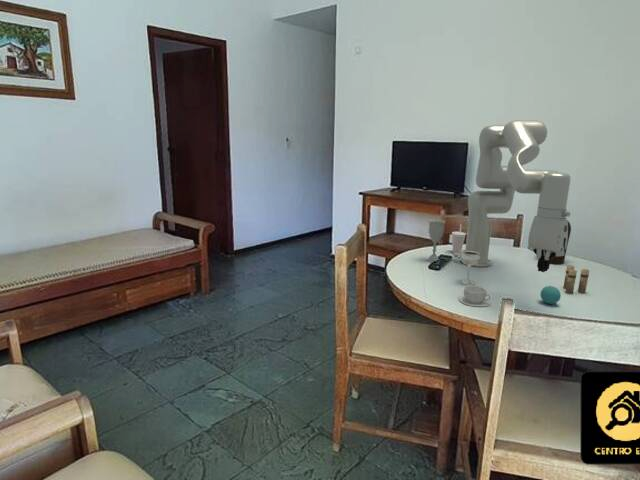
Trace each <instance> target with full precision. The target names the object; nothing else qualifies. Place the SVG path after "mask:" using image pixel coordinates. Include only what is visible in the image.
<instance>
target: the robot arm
mask: <svg viewBox="0 0 640 480" xmlns="http://www.w3.org/2000/svg"><path fill="white" fill-rule="evenodd" d="M547 137H548V128H547V126H546V124H545V123H544V122H542V121H540V120H524V119H523V120H522V119H520V120H512V121H509V122H507V123H506V124H491V125H487V126H484V127H483V128H482V129H481V131H480V133H479V137H478V144H479V159H478V164H477V170H476V176H475V177H476V178H475V183H476V186H477V187H478V188H480V189H486V190H476V191H473V192H471V193H470V194H469V195H468V199H467V208H468V210H467V211H468V220H467V221H468V222H467V230H466V241H465V249H464V250H475V251H478V252H480V254H479V256H480V260H479V262H478V263H477V264H475V265H472V266H471V267H475V268H476V267H477V268H486V267H490V266H491V265H492V261H491V260H490V259H488V258H489V251H490V242H491V235H492V233H491V232H492V227H493V226H492V222H491V220H490V218H489V216H488V215H490V214H494V215H495V214H496V215H497V214H499V215H501V214H507V213H509V212H510V210H511V208H512V206H513V202H514V197H515V192H517V193H518V194H524V195H525V194H532V195H533V194H536V195H537V194H538V195H539V197H538V204H537V210H536V211H537V212H536V215H534V217H533V220H532V223H531V226H530V230H529V234H528V238H527V239H528V241H527V245H528V246H527V250H528V251H529V250H530V251H531V252H533V253H534V254H535V256H536V258H537V263H536V267H537V272H541V273H546V272H547V271H548V270H549V269H550V259H552V258H553V257H555V256H564V250H565V249H566V247H567V248H568V245H567V239H568V221H569V220H568V219H567V217H570V216H571V212H570V211H567V205H568V197H569V190H570V185H571V176H570V174H569V173H566V172H558V171H557V170H553V169H524V168H523V166H524V165H526V164H529V163H531V162H533V161H534V160H535V159H536V158H537V157H538V156H539V154H540V151H541V149H540V146H539V145H542V144H543V143H544V142H545V141H546V139H547ZM501 148H502V149H504V148H505V149H509V152H510V154H511V157H510V159H509V160H508V163H507V165H502V160H503V152H502V150H501ZM488 189H490V190H488ZM491 189H492V190H491ZM564 218H566V219H564ZM567 220H568V221H567ZM545 250H547V252H546V255H545ZM452 255H453V258H457V259H460V263H462V264H464V263H463V262H462V260H461V255H462V251H461V253H453V254H452ZM464 265H466V264H464ZM466 266H467V265H466Z"/></svg>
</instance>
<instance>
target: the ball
mask: <svg viewBox="0 0 640 480" xmlns="http://www.w3.org/2000/svg"><path fill="white" fill-rule="evenodd" d="M539 294H540V299H541V300H542V301H543V302H544V303H545V304H549V305H553V304H556V303H558V302H559V301H560V300H561V296H562V295H561V292H560V289H558V288H557V287H556V286H553V285H547V286H544V287H543V288H542V289H541V290H540V293H539Z"/></svg>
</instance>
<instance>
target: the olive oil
mask: <svg viewBox="0 0 640 480" xmlns="http://www.w3.org/2000/svg"><path fill="white" fill-rule="evenodd" d="M564 219H567V217H565V218H564ZM567 221H568V239H567V247H566V249H565V250H564V256H555V257H553V258H552V259H550V264H551V265H563V264H565V259H566V255H567V249H568V244H569V240H570V236H571V231H572V226H571V223H570V221H569V220H568V219H567ZM546 252H547V250H545V255H546Z"/></svg>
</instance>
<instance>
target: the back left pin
mask: <svg viewBox="0 0 640 480" xmlns="http://www.w3.org/2000/svg"><path fill="white" fill-rule="evenodd" d="M569 269H573V270H575V266H574V265H566V269H565V276H564V282H563V289H564V290H566V285H567V280H568V274H569Z"/></svg>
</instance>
